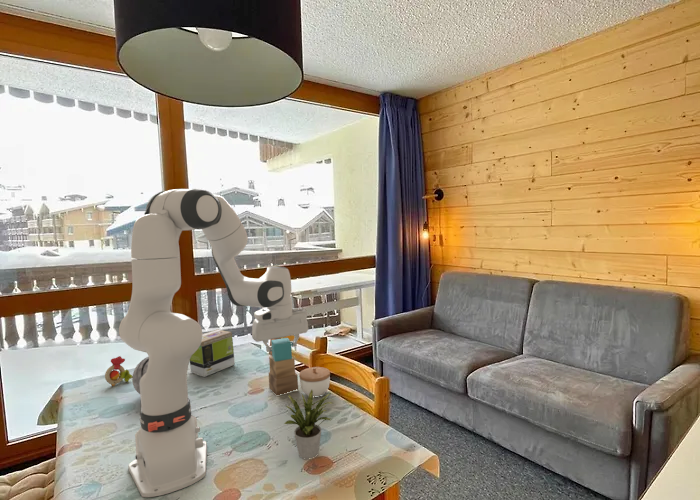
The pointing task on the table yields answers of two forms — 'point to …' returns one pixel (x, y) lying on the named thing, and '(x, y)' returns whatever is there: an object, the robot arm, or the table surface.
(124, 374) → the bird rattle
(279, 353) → the teal block
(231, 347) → the tea box
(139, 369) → the decorative orb
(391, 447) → the table surface
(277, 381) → the tower bottom
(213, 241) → the robot arm
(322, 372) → the lidded jar
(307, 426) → the house plant
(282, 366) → the block
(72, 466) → the table surface
